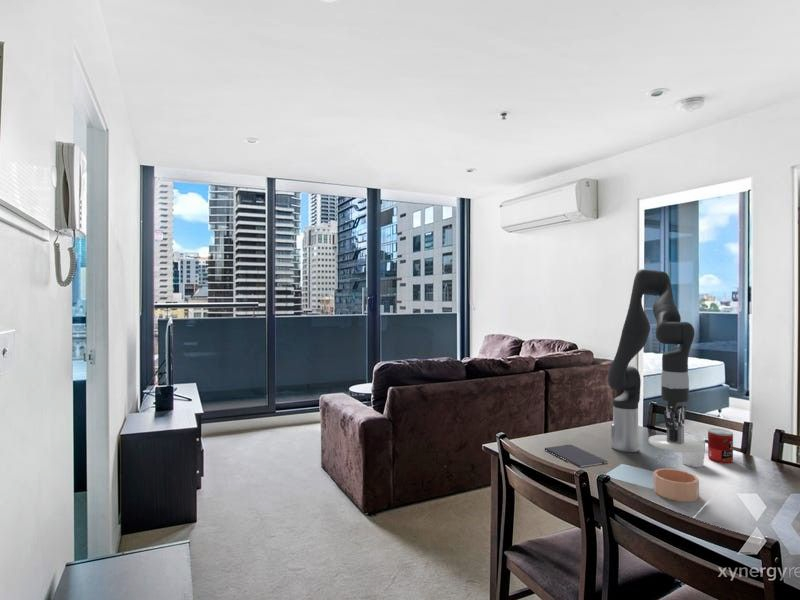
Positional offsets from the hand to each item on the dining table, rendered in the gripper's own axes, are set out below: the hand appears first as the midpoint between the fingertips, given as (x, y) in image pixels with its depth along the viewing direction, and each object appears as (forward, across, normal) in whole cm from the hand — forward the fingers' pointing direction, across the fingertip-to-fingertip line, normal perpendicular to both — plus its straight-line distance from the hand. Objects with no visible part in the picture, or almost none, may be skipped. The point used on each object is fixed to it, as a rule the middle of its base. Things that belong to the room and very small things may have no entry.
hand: (675, 439), depth 149 cm
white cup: (+17, -33, -4) cm, 38 cm away
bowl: (+17, 0, 0) cm, 17 cm away
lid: (+2, 0, 0) cm, 2 cm away
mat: (+17, -6, -14) cm, 23 cm away
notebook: (+18, -10, -38) cm, 43 cm away
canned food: (+17, -45, +2) cm, 48 cm away
